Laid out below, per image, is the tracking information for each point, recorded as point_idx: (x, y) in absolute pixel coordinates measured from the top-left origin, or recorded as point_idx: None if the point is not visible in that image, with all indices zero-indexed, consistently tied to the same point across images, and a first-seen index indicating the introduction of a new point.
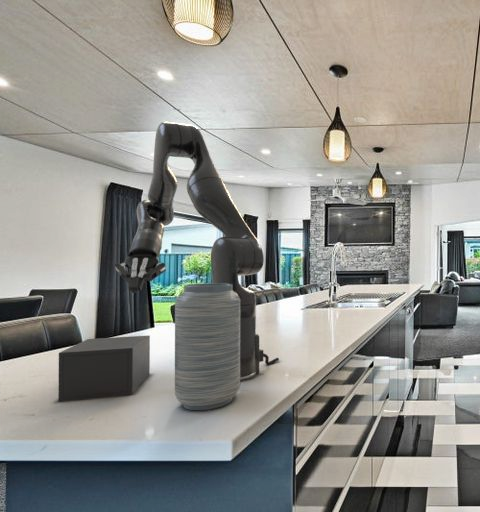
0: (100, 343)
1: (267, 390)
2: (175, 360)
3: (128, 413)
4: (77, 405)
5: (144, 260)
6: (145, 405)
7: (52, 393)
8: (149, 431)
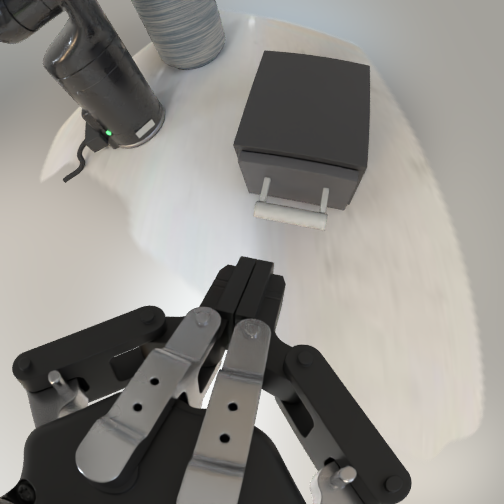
0: (325, 101)
1: None
2: (217, 8)
3: None
4: None
5: (116, 449)
6: (254, 63)
7: (379, 155)
8: (252, 22)
